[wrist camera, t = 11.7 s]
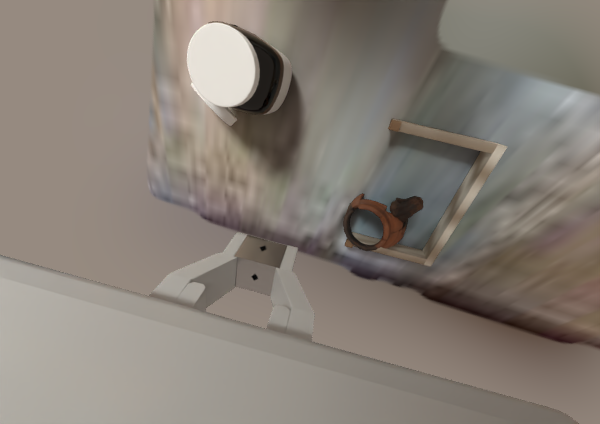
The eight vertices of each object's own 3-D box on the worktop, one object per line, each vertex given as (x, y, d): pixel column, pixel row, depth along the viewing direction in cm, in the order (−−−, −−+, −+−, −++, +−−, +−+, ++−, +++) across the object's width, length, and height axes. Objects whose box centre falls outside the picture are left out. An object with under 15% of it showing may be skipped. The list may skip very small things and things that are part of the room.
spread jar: (303, 61, 30) (283, 46, 20) (274, 141, 36) (247, 161, 26) (218, 19, 30) (154, -19, 19) (202, 107, 35) (145, 113, 25)
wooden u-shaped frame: (388, 117, 32) (392, 119, 29) (495, 142, 31) (510, 147, 28) (344, 236, 42) (345, 246, 39) (425, 257, 41) (431, 269, 38)
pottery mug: (381, 246, 42) (361, 266, 36) (350, 204, 44) (327, 217, 38) (444, 213, 34) (432, 231, 28) (404, 163, 36) (385, 170, 30)
